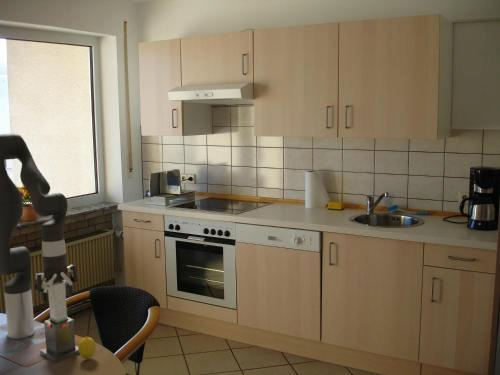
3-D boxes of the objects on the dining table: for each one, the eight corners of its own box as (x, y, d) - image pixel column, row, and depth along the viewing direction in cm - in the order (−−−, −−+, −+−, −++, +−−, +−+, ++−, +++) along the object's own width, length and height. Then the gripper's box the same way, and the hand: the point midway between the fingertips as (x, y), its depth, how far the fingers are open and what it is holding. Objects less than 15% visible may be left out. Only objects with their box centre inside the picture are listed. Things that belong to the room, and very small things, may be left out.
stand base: (40, 354, 187) (37, 321, 185) (66, 344, 194) (64, 312, 193) (55, 362, 180) (52, 328, 179) (82, 352, 188) (79, 319, 186)
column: (51, 335, 186) (47, 282, 183) (62, 331, 189) (58, 279, 187) (57, 338, 183) (53, 285, 181) (68, 334, 187) (65, 282, 184)
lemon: (91, 363, 179) (90, 340, 178) (76, 362, 181) (74, 339, 179) (99, 356, 185) (97, 333, 184) (84, 355, 186) (82, 332, 185)
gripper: (67, 246, 190) (70, 291, 192) (28, 255, 179) (32, 302, 182) (79, 250, 185) (82, 295, 187) (39, 259, 174) (43, 307, 177)
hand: (57, 299), depth 184 cm, fingers open, 8 cm apart
